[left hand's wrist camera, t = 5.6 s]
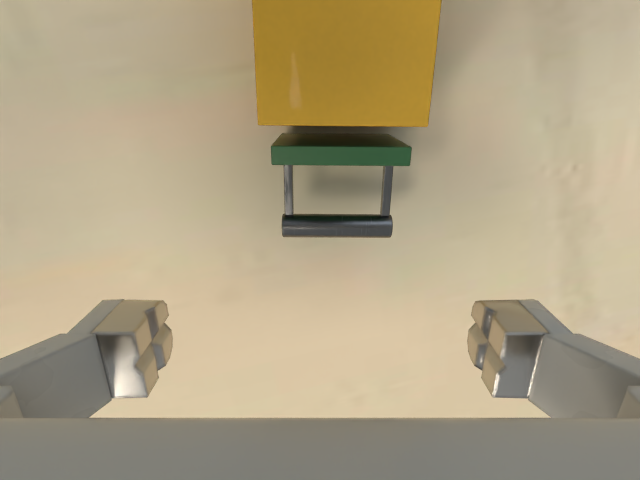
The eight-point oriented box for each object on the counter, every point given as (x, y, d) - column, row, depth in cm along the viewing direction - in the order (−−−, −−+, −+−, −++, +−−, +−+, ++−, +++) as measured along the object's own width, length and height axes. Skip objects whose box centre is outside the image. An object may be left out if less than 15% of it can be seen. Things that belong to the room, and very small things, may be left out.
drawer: (383, 216, 34) (402, 251, 26) (283, 215, 34) (274, 250, 26) (409, -145, 25) (449, -247, 17) (274, -148, 25) (256, -252, 17)
